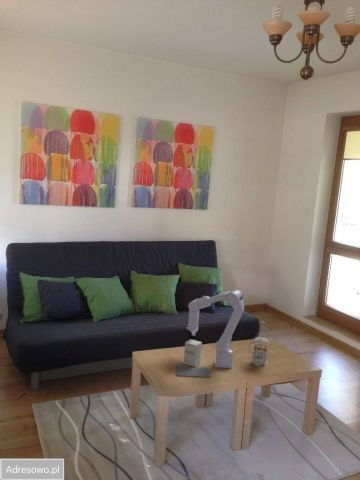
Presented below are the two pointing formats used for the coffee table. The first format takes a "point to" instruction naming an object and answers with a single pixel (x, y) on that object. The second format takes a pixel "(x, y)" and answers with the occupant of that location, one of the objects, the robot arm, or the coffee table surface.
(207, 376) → the mat
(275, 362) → the coffee table surface
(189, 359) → the supplement box
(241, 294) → the robot arm
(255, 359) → the french press
